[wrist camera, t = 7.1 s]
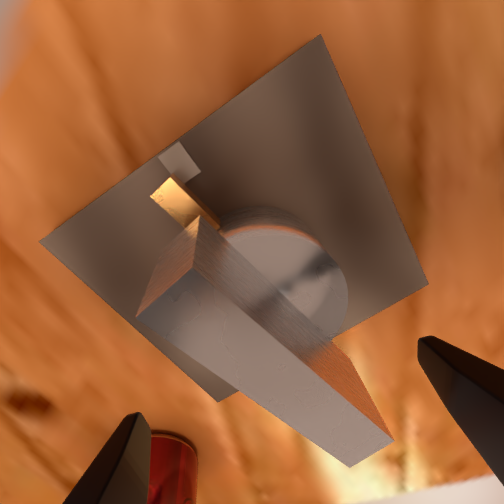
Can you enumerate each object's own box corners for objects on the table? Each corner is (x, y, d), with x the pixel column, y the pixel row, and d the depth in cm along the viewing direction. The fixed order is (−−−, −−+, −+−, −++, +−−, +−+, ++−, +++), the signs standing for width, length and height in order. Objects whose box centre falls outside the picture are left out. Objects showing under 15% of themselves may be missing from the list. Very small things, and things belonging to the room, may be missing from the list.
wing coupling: (356, 284, 17) (455, 404, 10) (266, 351, 19) (297, 498, 12) (220, 125, 13) (225, 140, 6) (116, 228, 15) (18, 343, 7)
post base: (310, 41, 14) (322, 32, 12) (414, 272, 20) (431, 285, 18) (53, 230, 16) (36, 243, 14) (217, 384, 22) (217, 404, 21)
